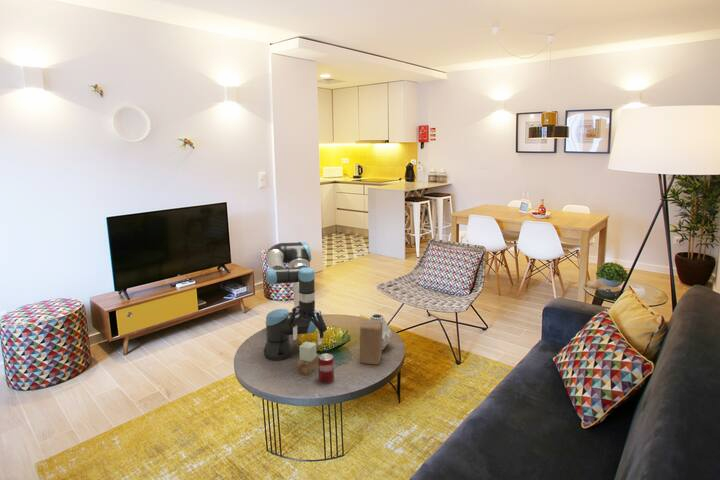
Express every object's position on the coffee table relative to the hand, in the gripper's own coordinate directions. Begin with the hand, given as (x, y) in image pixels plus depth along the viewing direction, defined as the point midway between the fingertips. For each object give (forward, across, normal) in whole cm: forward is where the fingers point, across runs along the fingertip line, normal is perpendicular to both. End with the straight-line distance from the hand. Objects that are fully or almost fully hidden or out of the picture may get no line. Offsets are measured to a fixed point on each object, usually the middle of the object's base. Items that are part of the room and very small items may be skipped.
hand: (307, 341), depth 226 cm
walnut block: (+15, 0, 0) cm, 15 cm away
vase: (+15, +23, +35) cm, 44 cm away
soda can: (+15, +13, -6) cm, 21 cm away
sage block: (+9, 0, 0) cm, 9 cm away
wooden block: (+15, +25, +21) cm, 36 cm away
